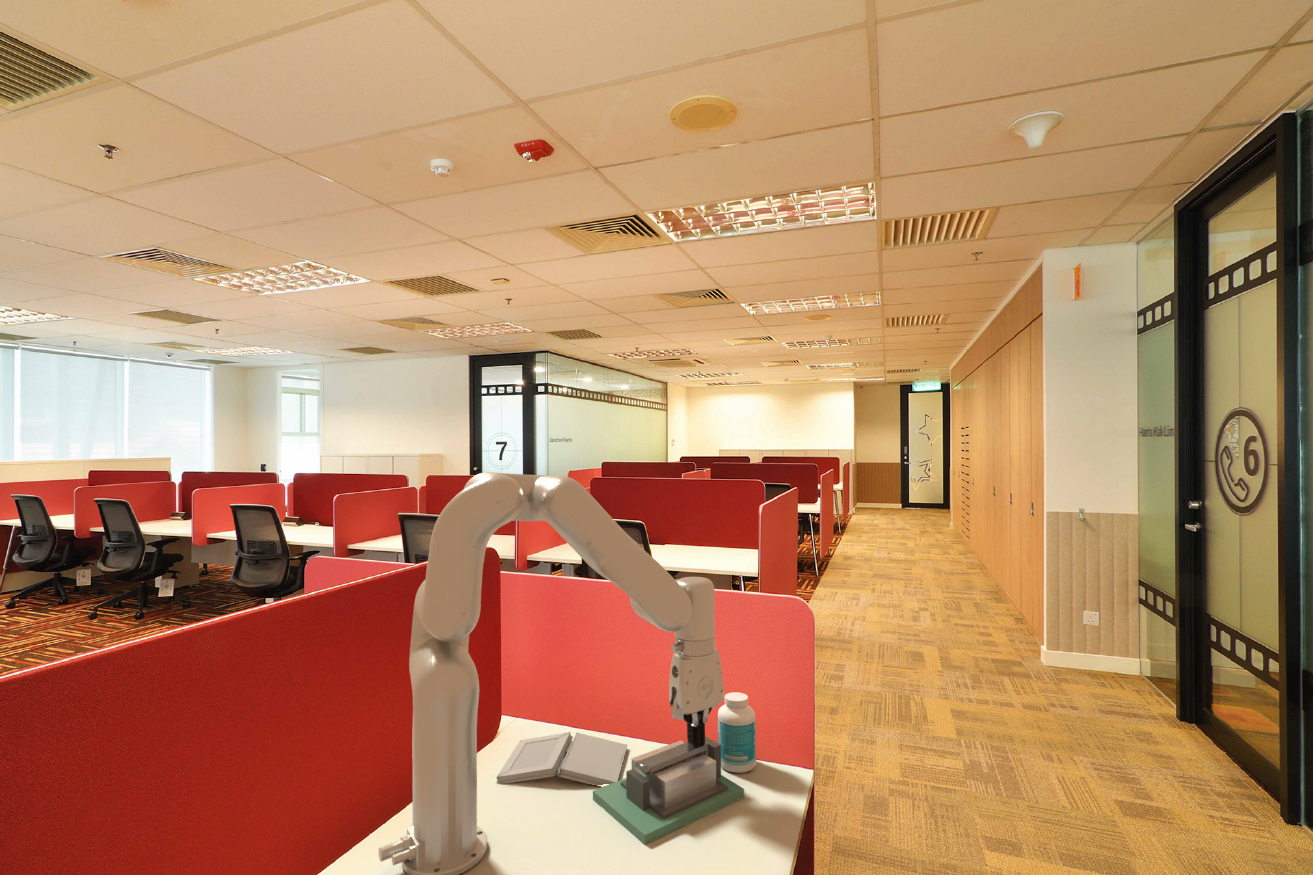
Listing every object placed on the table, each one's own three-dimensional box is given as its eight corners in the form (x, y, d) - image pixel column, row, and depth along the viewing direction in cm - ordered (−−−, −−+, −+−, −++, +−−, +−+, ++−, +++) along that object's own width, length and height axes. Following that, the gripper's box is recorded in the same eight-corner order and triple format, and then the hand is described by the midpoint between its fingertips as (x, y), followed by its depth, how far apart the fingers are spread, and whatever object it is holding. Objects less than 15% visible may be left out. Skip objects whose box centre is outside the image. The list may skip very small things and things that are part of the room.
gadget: (627, 751, 130) (627, 733, 130) (617, 791, 115) (617, 770, 115) (520, 747, 132) (520, 729, 132) (495, 786, 117) (495, 766, 117)
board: (644, 844, 98) (644, 797, 98) (592, 799, 111) (592, 757, 111) (744, 797, 111) (743, 755, 112) (687, 761, 124) (687, 724, 124)
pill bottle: (763, 770, 121) (762, 700, 121) (729, 777, 118) (728, 706, 118) (744, 752, 128) (743, 686, 128) (711, 759, 125) (711, 692, 125)
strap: (645, 784, 106) (645, 768, 106) (635, 776, 109) (634, 761, 109) (709, 757, 115) (709, 743, 115) (698, 750, 118) (697, 736, 118)
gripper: (676, 658, 108) (677, 764, 108) (737, 641, 117) (739, 739, 117) (650, 648, 114) (652, 748, 114) (711, 632, 123) (712, 725, 123)
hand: (696, 743), depth 115 cm, fingers closed
